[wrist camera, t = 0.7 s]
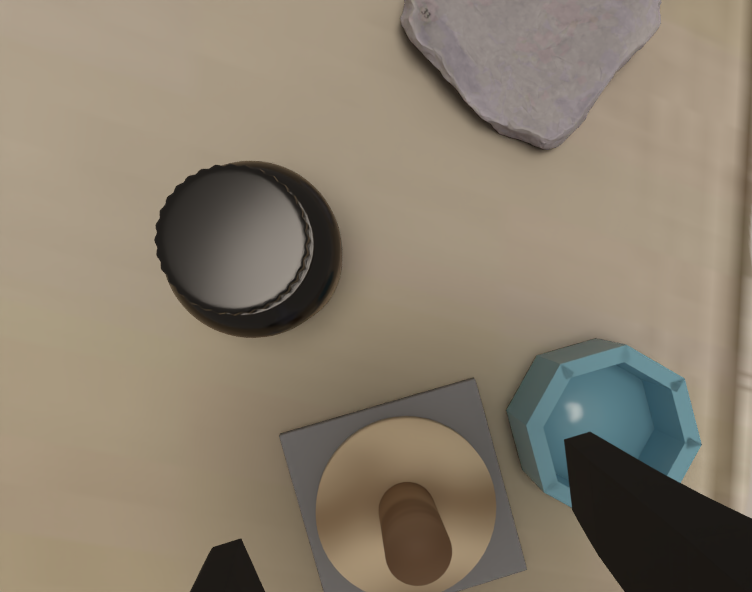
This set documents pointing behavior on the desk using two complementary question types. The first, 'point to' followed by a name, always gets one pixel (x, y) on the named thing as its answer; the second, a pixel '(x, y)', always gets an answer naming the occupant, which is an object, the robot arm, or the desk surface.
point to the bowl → (601, 411)
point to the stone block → (530, 56)
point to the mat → (443, 404)
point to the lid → (405, 506)
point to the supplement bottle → (249, 248)
